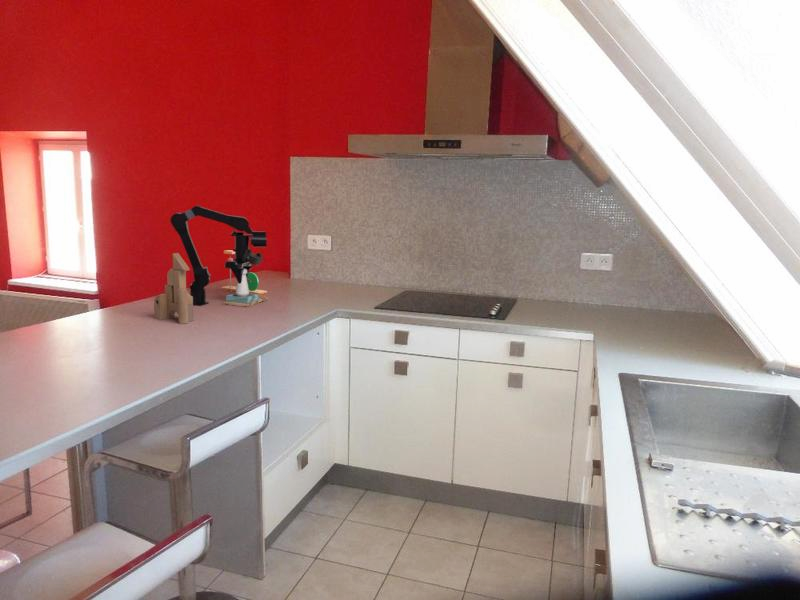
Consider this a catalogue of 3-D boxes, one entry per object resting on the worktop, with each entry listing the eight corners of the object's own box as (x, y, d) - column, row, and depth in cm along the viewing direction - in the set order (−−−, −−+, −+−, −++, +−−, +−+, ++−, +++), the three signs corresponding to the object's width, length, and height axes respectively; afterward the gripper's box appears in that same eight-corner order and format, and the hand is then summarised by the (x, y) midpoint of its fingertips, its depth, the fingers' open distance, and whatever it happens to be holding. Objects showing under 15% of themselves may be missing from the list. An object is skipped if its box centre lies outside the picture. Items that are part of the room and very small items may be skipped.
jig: (248, 307, 246) (248, 298, 245) (222, 304, 249) (222, 296, 248) (268, 300, 263) (268, 291, 262) (244, 297, 266) (244, 289, 265)
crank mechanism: (220, 289, 284) (219, 250, 281) (229, 288, 290) (229, 249, 286) (259, 295, 273) (259, 255, 269) (268, 294, 278) (268, 254, 275)
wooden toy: (153, 318, 218) (150, 252, 213) (167, 315, 223) (165, 251, 219) (183, 324, 211) (181, 256, 206) (197, 321, 217) (195, 254, 212)
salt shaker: (244, 296, 256) (243, 267, 254) (252, 298, 253) (251, 268, 251) (232, 297, 252) (232, 268, 250) (240, 299, 248) (240, 269, 246)
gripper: (248, 249, 238) (248, 287, 240) (269, 246, 255) (269, 281, 258) (223, 247, 240) (224, 285, 243) (246, 244, 258) (246, 279, 261)
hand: (242, 282), depth 251 cm, fingers closed on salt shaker, 3 cm apart
